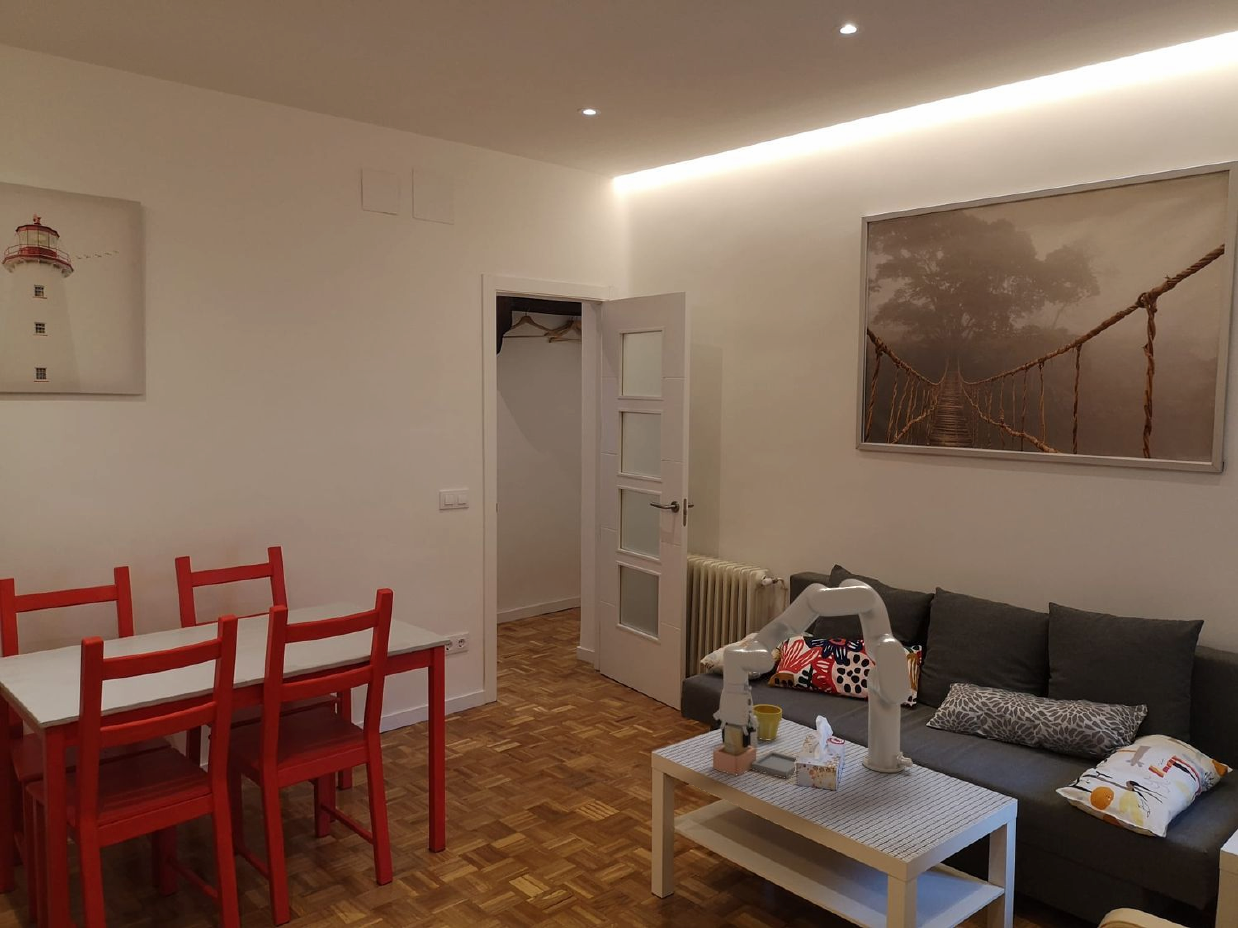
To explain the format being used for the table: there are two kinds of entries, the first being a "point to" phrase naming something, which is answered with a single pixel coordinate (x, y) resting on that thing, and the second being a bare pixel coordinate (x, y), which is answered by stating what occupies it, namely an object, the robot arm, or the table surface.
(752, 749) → the terracotta square pot
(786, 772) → the grey tray
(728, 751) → the skincare box
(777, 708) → the plant pot
